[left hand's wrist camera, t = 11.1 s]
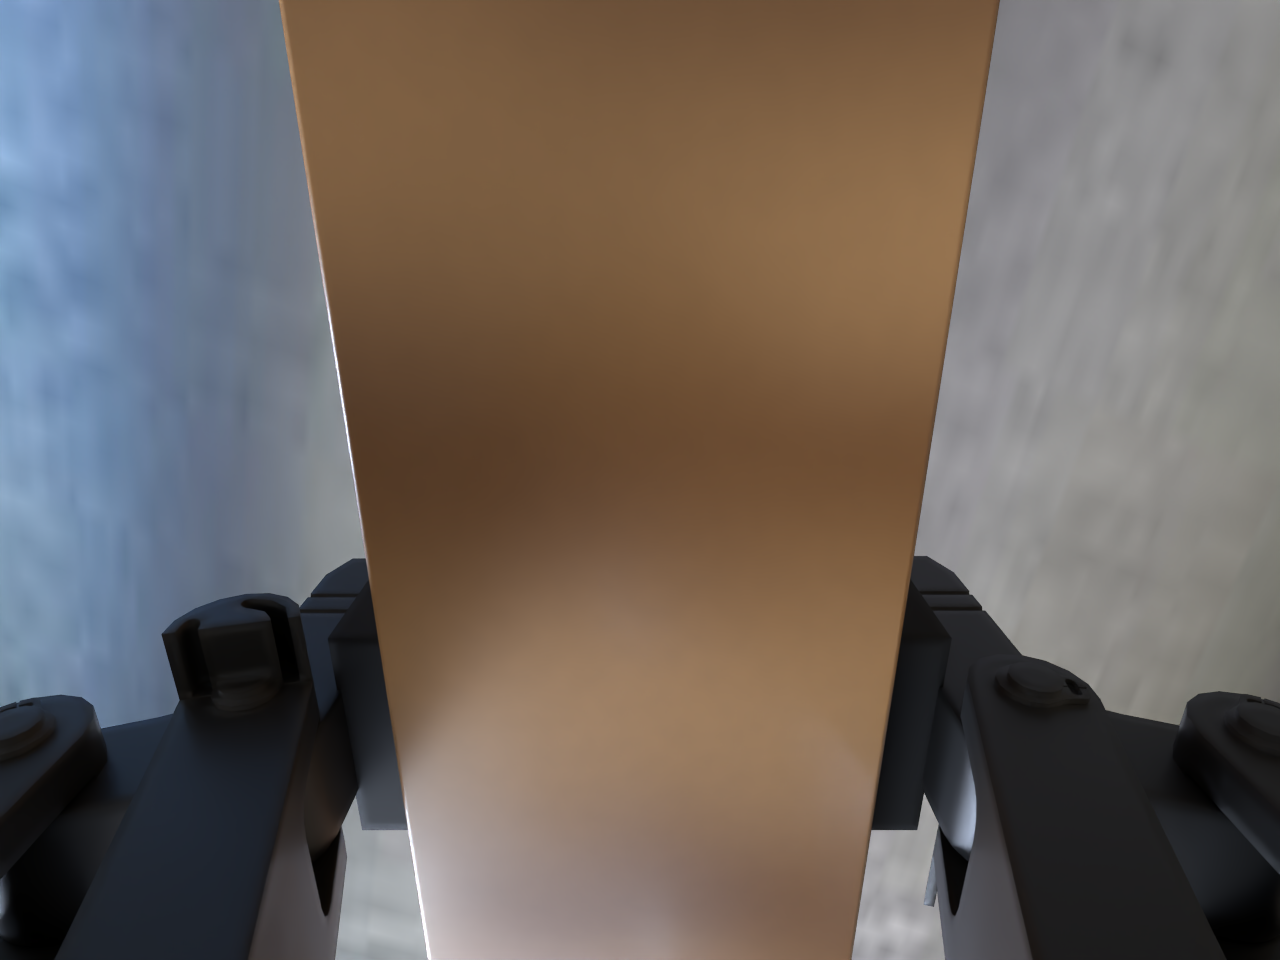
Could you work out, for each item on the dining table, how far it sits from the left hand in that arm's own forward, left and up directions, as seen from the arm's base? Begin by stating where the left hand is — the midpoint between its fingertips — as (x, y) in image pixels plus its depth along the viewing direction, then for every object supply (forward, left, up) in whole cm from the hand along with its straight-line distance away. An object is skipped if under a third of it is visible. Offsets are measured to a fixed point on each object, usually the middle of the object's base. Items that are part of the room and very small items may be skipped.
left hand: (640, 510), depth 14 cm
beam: (+25, 0, -1) cm, 25 cm away
